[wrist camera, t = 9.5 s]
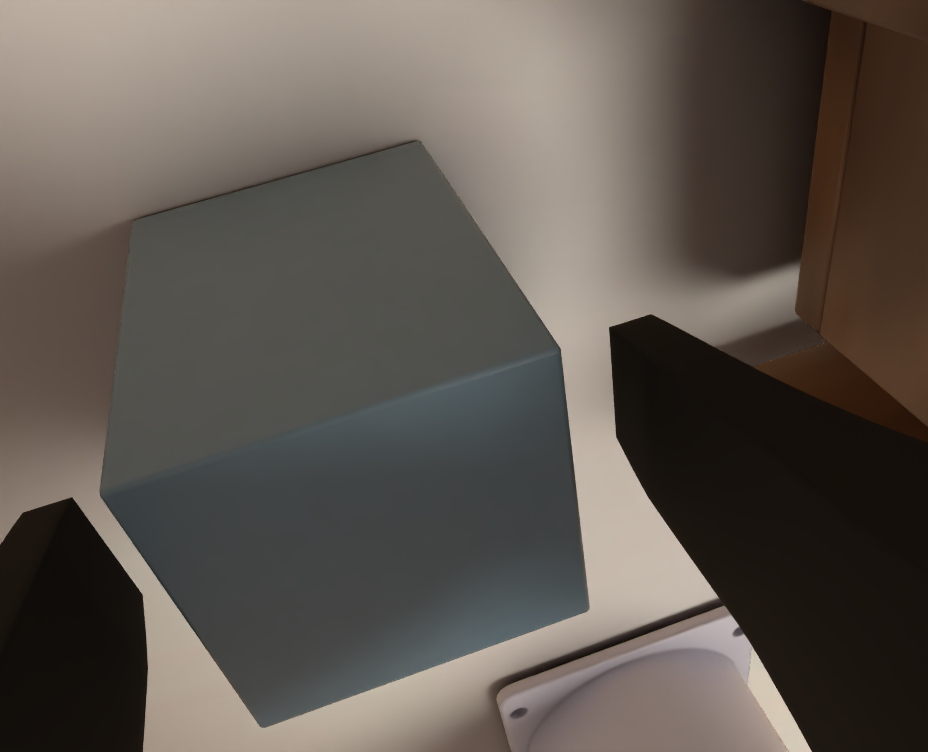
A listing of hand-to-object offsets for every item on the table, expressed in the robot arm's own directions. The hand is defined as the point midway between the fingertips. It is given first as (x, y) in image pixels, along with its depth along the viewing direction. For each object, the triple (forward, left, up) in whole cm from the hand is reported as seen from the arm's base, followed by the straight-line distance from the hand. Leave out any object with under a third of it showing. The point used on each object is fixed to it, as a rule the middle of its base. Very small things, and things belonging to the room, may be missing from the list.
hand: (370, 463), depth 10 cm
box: (0, 0, -4) cm, 4 cm away
